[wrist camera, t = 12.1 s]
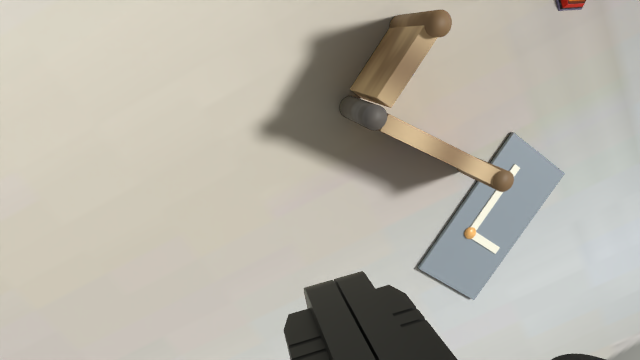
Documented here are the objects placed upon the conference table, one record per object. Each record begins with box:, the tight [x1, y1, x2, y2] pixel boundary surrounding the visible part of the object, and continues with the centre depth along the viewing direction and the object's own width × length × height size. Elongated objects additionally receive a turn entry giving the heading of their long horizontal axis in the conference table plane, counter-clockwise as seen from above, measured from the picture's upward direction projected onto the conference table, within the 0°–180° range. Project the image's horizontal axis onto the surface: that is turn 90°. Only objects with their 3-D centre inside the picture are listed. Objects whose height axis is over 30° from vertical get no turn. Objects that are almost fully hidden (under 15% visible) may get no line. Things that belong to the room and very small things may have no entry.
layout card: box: [418, 132, 565, 300], centre depth 41 cm, size 14×7×1 cm, turn 146°
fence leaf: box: [340, 96, 514, 192], centre depth 34 cm, size 13×2×5 cm, turn 64°
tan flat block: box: [350, 10, 452, 108], centre depth 31 cm, size 7×2×6 cm, turn 146°
